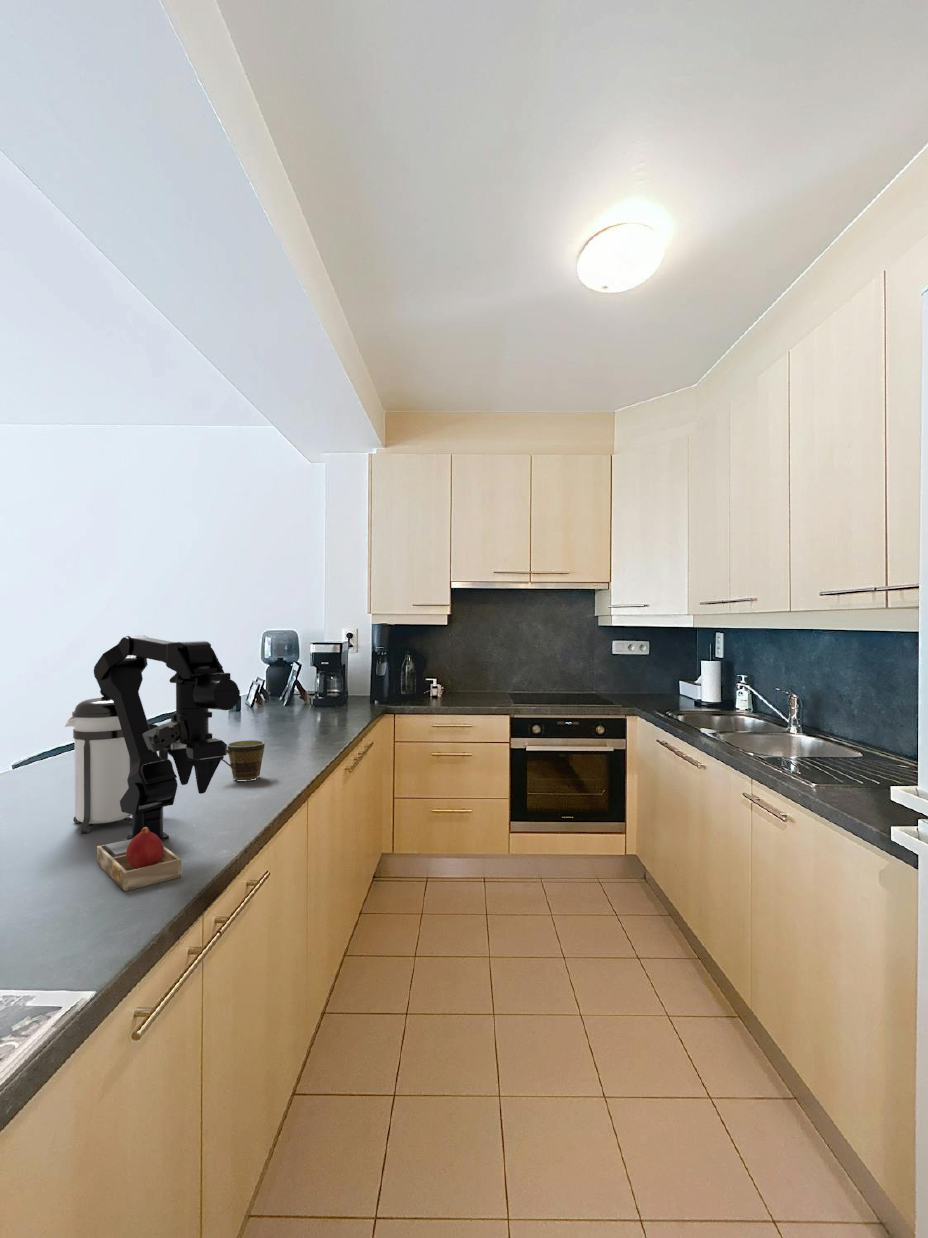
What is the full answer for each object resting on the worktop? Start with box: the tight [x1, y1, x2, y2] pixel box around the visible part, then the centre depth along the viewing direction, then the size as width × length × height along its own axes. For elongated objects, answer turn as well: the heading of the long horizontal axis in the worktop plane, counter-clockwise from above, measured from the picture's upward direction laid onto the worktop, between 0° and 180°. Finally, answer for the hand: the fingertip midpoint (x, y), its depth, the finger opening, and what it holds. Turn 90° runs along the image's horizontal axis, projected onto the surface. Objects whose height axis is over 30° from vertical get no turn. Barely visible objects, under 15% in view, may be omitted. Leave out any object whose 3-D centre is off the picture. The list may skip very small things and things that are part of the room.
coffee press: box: [64, 689, 169, 834], centre depth 145 cm, size 17×16×30 cm
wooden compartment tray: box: [96, 839, 182, 892], centre depth 116 cm, size 18×9×3 cm, turn 42°
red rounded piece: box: [126, 827, 165, 869], centre depth 113 cm, size 6×6×8 cm
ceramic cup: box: [221, 739, 266, 780], centre depth 183 cm, size 13×10×10 cm
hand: (192, 788), depth 125 cm, fingers open, 9 cm apart
